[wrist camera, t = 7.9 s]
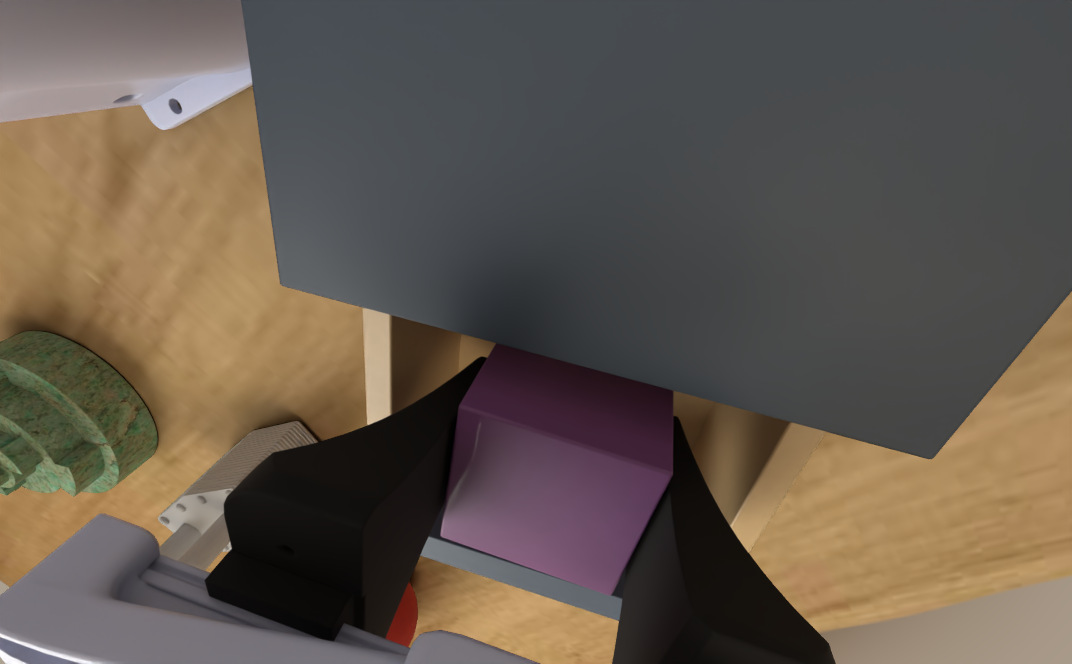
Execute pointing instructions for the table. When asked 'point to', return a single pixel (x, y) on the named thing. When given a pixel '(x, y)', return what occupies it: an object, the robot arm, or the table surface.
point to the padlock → (221, 495)
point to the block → (558, 466)
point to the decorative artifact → (67, 418)
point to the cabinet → (688, 188)
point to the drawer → (711, 428)
